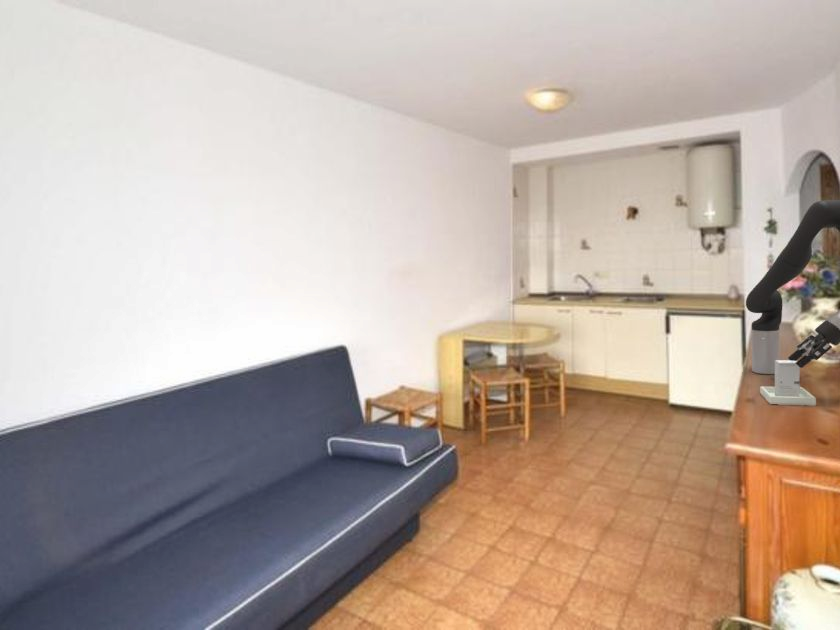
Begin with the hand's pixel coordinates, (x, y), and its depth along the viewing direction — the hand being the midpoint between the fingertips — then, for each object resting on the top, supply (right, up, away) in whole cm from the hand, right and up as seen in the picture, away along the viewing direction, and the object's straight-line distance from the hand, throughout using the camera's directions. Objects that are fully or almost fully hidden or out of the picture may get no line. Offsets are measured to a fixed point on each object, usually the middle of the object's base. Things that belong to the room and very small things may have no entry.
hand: (794, 363), depth 169 cm
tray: (-1, -12, +2) cm, 12 cm away
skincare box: (-1, -12, +2) cm, 12 cm away
